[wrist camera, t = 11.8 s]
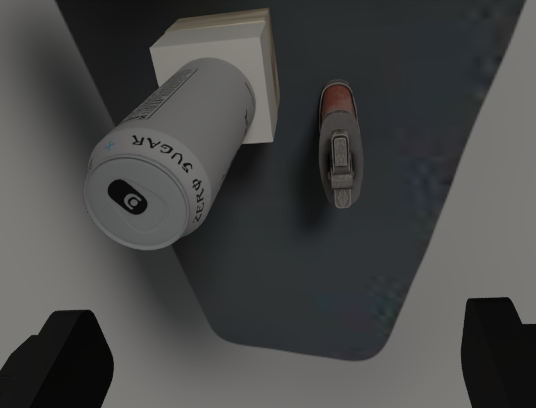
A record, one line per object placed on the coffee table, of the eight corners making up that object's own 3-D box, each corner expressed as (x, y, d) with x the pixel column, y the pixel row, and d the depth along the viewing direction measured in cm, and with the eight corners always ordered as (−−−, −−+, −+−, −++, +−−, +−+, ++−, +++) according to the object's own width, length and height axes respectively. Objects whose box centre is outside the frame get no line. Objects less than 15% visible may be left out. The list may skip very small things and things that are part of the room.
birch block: (179, 18, 41) (164, 31, 37) (269, 7, 40) (263, 20, 36) (197, 104, 45) (186, 124, 41) (280, 96, 44) (276, 116, 40)
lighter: (358, 162, 47) (366, 223, 38) (322, 164, 47) (322, 225, 39) (356, 77, 42) (365, 125, 34) (316, 81, 43) (315, 129, 34)
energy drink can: (220, 153, 37) (150, 282, 24) (157, 96, 35) (45, 201, 23) (276, 98, 34) (230, 210, 21) (210, 34, 33) (117, 113, 20)
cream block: (167, 31, 37) (149, 48, 34) (266, 21, 36) (259, 37, 32) (187, 124, 41) (173, 148, 37) (277, 117, 40) (272, 141, 36)
